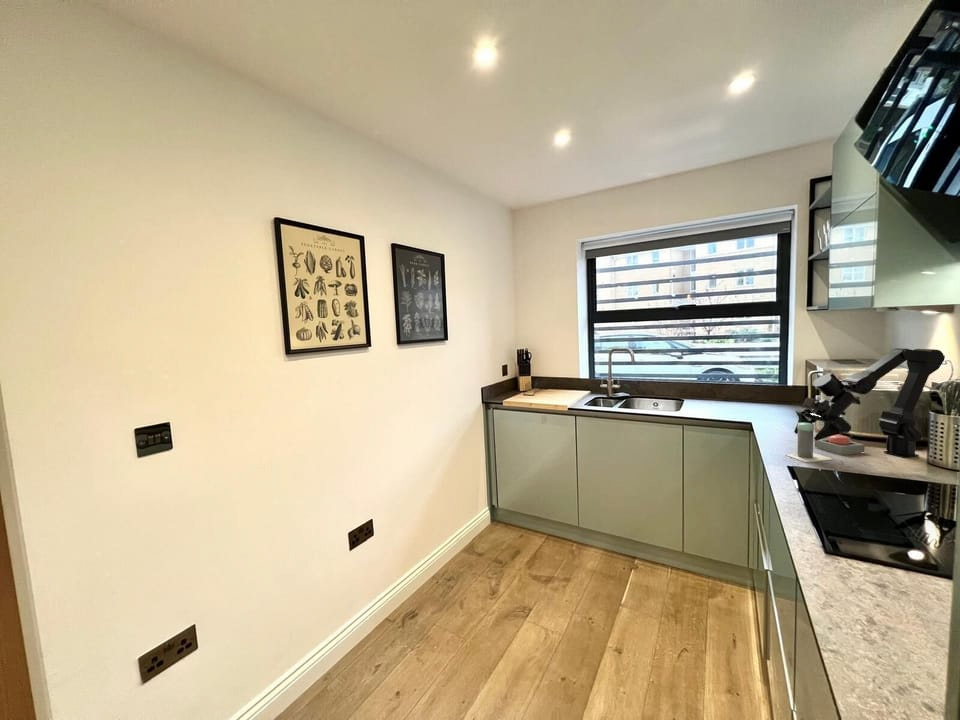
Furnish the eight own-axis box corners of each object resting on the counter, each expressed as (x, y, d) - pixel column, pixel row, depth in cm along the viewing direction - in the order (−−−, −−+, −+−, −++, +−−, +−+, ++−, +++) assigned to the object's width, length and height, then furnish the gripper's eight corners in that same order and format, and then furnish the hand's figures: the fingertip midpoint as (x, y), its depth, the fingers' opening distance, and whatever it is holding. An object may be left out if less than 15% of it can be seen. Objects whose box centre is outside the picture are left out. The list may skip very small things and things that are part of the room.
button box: (864, 452, 146) (864, 444, 146) (841, 455, 145) (841, 447, 145) (836, 445, 156) (836, 437, 156) (814, 447, 155) (814, 439, 155)
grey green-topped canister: (816, 457, 143) (816, 424, 142) (808, 459, 141) (808, 426, 140) (802, 453, 147) (802, 422, 146) (794, 455, 146) (794, 423, 145)
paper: (833, 459, 141) (833, 458, 141) (805, 462, 139) (805, 461, 139) (811, 453, 149) (811, 452, 149) (785, 455, 147) (785, 454, 147)
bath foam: (810, 437, 167) (811, 391, 166) (818, 435, 171) (819, 389, 169) (831, 441, 161) (832, 393, 160) (839, 438, 164) (840, 391, 163)
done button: (854, 447, 148) (854, 438, 148) (840, 448, 147) (840, 439, 147) (837, 443, 154) (837, 434, 154) (824, 444, 153) (824, 435, 153)
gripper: (800, 386, 152) (770, 416, 153) (842, 394, 133) (809, 427, 134) (821, 405, 152) (791, 435, 153) (866, 416, 133) (832, 449, 134)
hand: (804, 436), depth 144 cm, fingers open, 9 cm apart
